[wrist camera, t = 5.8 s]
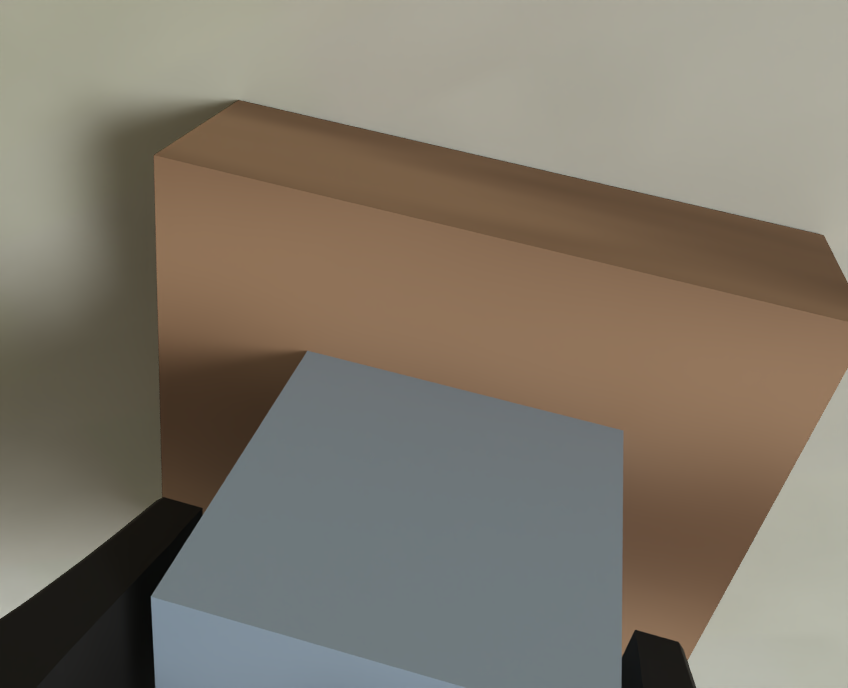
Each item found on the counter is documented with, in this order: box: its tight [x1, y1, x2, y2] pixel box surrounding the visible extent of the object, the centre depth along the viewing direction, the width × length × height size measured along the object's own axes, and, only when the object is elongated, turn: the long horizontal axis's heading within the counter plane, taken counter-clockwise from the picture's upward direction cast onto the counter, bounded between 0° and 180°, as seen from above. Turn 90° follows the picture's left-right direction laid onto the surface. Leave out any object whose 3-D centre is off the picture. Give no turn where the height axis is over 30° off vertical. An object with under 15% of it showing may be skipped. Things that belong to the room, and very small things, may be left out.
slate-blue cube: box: [151, 351, 623, 688], centre depth 12 cm, size 5×5×5 cm
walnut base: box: [154, 100, 848, 660], centre depth 15 cm, size 10×10×3 cm
